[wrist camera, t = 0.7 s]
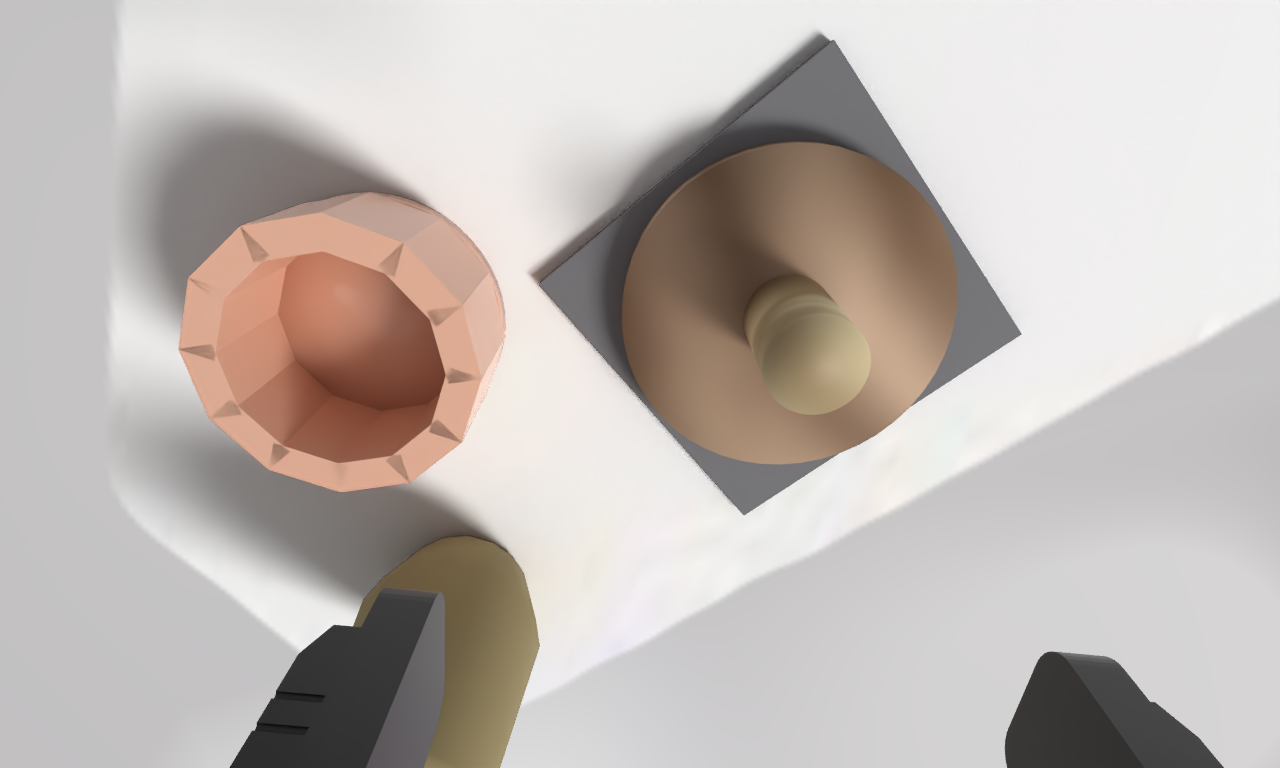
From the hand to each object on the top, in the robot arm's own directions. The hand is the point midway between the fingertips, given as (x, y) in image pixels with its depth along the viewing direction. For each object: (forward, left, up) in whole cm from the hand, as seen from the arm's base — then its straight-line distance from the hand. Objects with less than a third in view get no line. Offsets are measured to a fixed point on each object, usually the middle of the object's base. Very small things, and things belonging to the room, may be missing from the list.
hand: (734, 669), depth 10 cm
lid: (-3, +4, -21) cm, 21 cm away
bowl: (+10, -6, -21) cm, 24 cm away
